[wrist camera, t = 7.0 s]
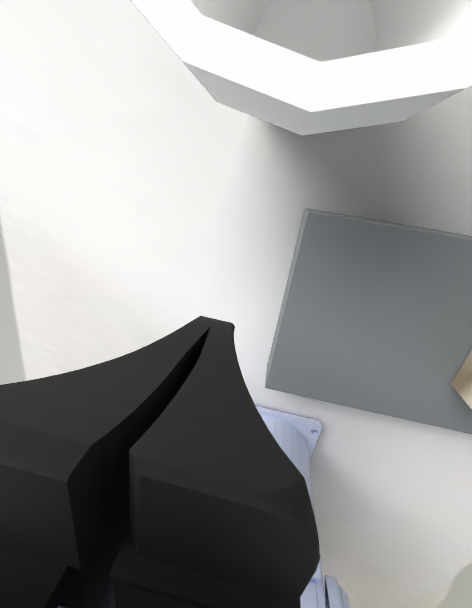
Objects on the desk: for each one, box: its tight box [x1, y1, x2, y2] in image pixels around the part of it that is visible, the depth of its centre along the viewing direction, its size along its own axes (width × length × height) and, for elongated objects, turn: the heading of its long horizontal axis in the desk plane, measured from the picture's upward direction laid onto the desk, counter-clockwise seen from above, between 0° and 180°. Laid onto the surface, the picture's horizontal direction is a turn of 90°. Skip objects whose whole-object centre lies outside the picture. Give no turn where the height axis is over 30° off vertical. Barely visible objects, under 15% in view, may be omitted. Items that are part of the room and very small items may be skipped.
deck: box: [265, 209, 472, 434], centre depth 17 cm, size 12×21×2 cm, turn 81°
